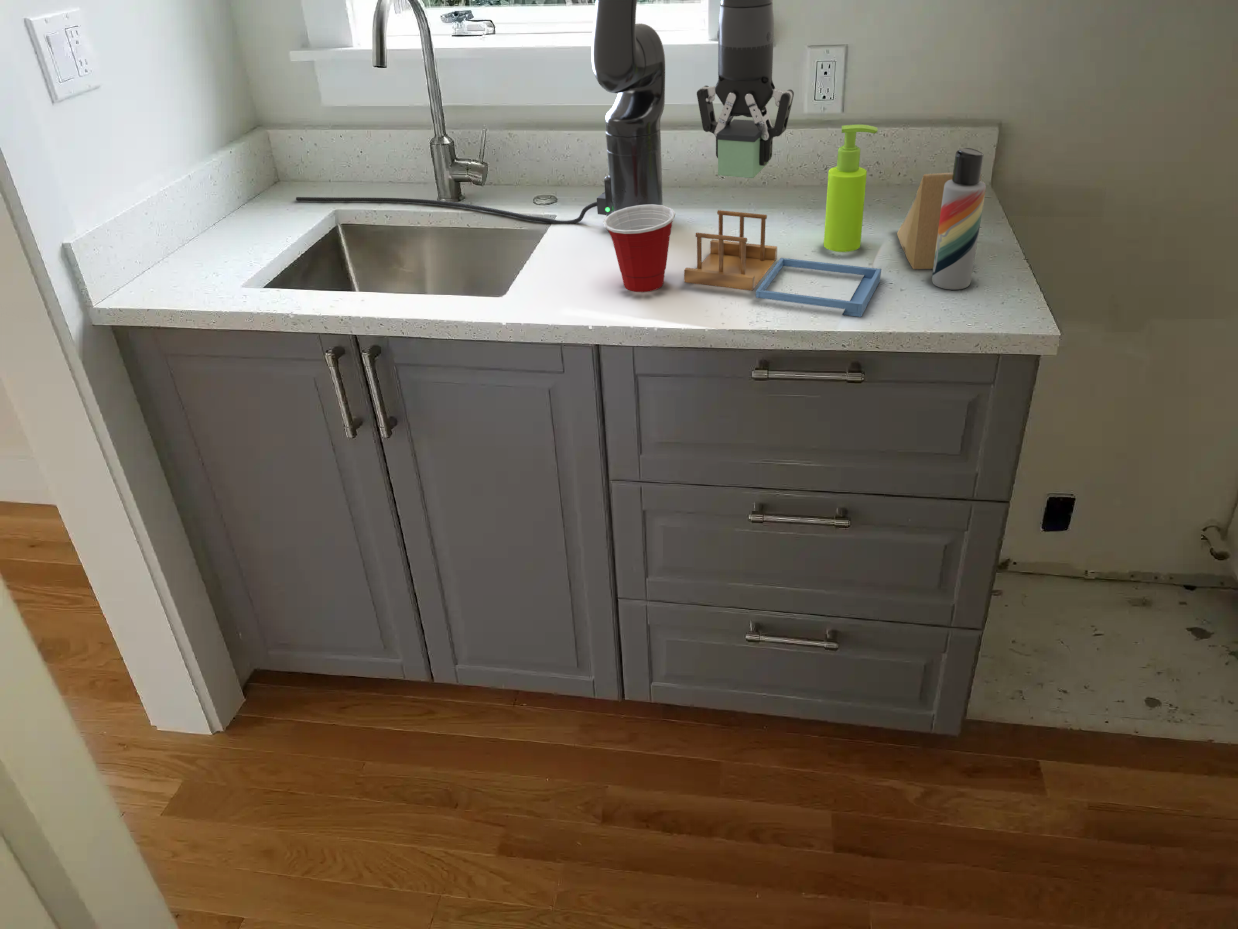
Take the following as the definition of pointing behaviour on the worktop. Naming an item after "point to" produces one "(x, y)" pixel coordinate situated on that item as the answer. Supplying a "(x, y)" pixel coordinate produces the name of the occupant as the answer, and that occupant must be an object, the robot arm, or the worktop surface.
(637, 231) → the plastic cup
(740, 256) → the dish rack
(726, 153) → the tub
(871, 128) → the soap dispenser
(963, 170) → the lotion bottle
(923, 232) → the sandwich container
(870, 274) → the tray
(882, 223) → the worktop surface
